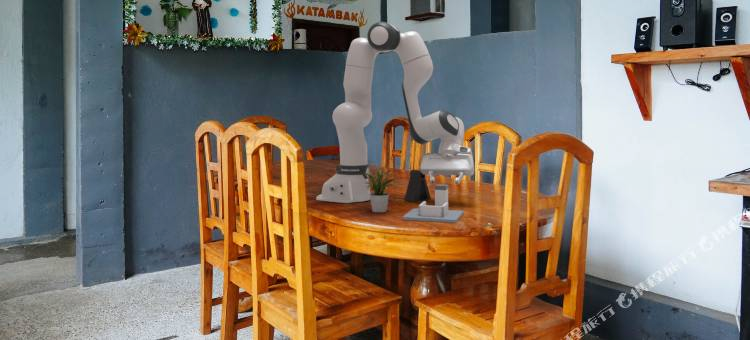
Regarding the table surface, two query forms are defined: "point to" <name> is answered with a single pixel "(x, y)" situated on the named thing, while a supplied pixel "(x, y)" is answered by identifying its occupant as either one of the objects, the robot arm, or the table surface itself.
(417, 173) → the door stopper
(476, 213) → the table surface
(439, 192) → the cable plug
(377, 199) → the house plant
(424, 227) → the table surface
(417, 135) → the robot arm
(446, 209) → the dock board
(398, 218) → the table surface
